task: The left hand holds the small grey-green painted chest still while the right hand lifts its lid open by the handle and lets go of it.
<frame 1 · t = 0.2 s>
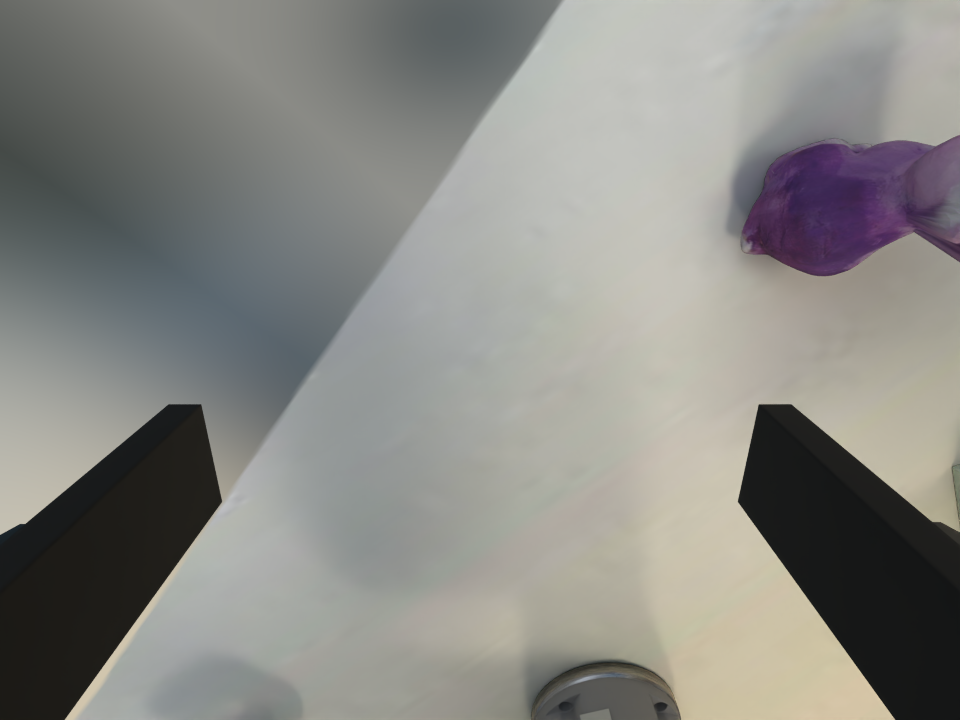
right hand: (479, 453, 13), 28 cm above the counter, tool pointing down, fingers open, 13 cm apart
figurine: (813, 192, 37), on the counter
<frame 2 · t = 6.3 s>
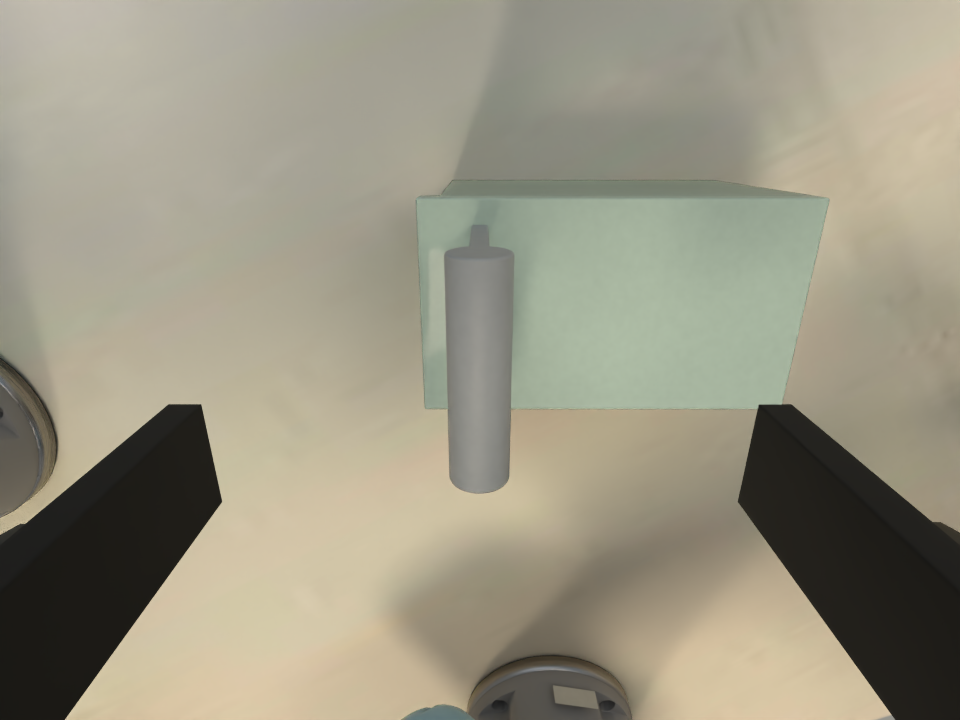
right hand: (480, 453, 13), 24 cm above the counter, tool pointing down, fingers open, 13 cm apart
lid: (632, 337, 21), point 15 cm above the counter, hinge at 0.0°
chest: (577, 258, 35), on the counter
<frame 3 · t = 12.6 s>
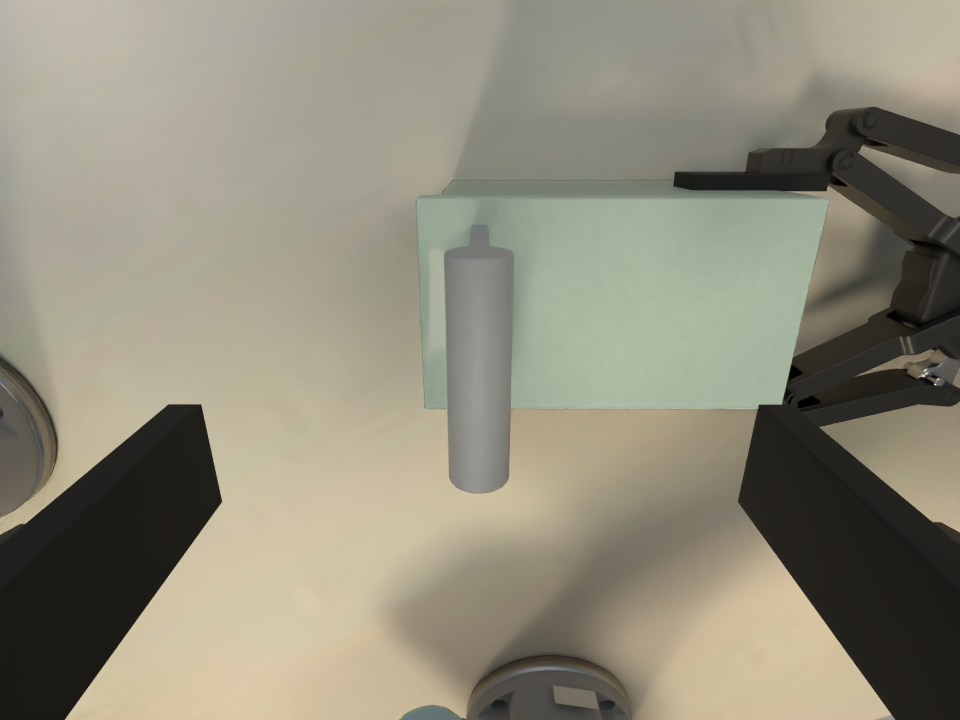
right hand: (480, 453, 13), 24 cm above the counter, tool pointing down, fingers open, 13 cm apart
left hand: (669, 282, 29), fingers closed on chest, 10 cm apart
lid: (632, 337, 21), point 15 cm above the counter, hinge at 0.0°
chest: (577, 258, 35), on the counter, touching left hand
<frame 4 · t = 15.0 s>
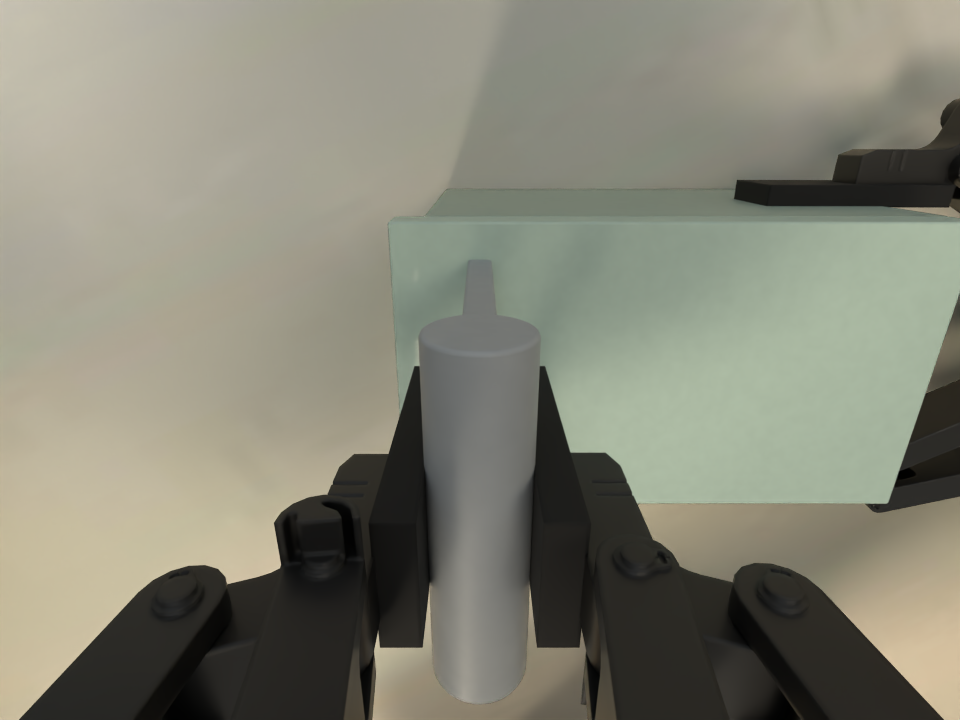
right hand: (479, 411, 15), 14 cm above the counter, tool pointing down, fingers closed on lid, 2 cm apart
lid: (706, 430, 14), point 15 cm above the counter, hinge at 0.3°, touching right hand
chest: (601, 285, 28), on the counter, touching left hand
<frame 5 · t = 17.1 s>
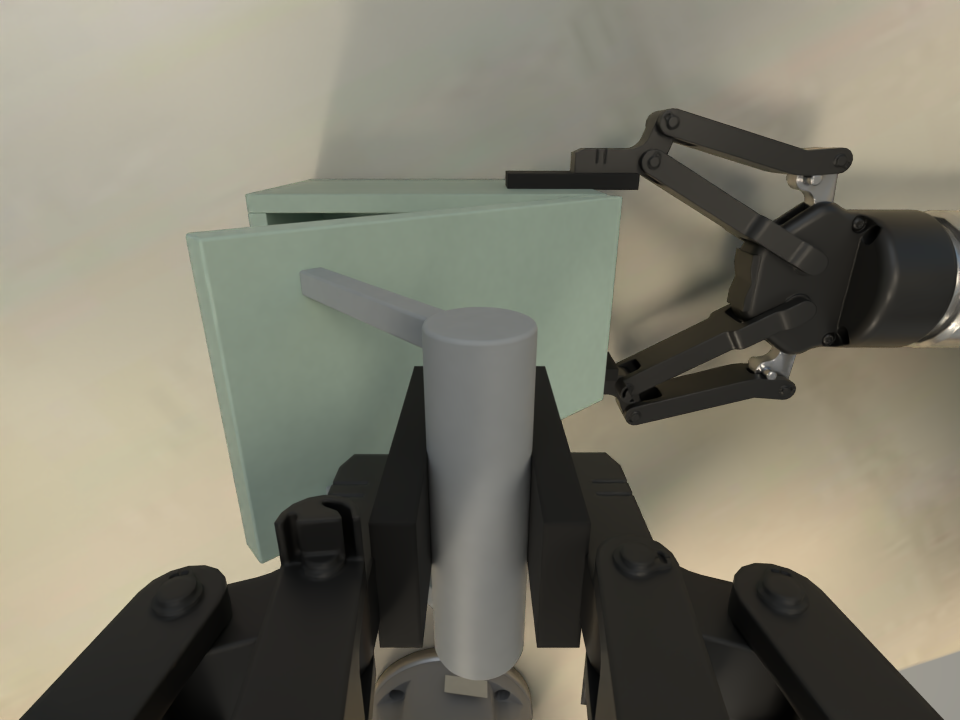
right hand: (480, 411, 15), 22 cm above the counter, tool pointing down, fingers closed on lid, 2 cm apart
left hand: (504, 278, 30), fingers closed on chest, 10 cm apart
lid: (543, 376, 17), point 20 cm above the counter, hinge at 40.2°, touching right hand
chest: (440, 256, 36), on the counter, touching left hand
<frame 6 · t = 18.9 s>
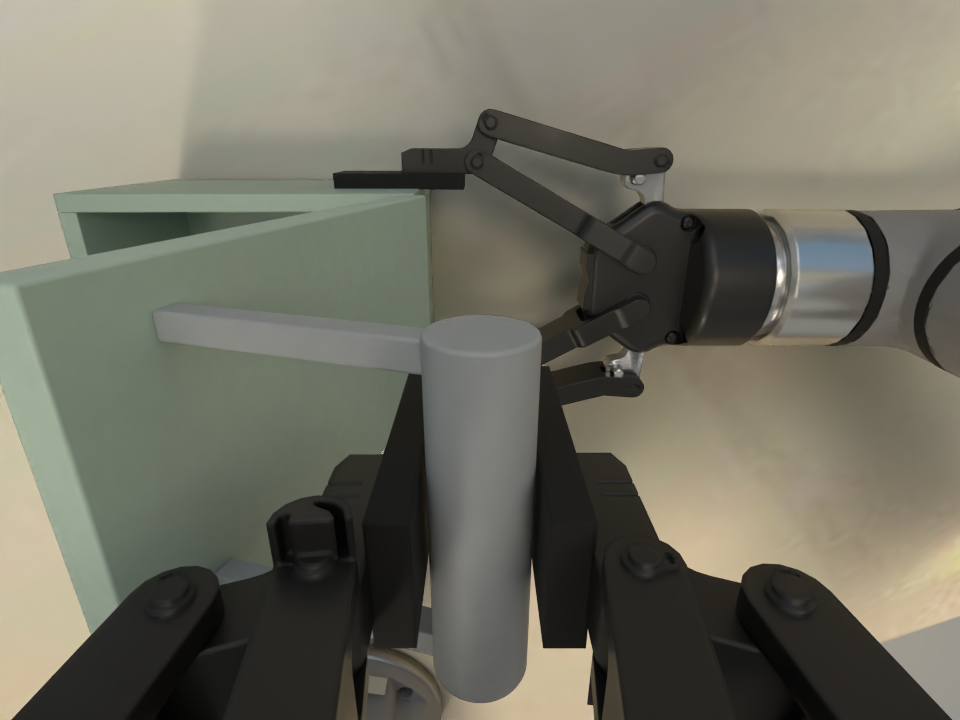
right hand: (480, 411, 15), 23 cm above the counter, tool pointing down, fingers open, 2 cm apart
left hand: (349, 277, 30), fingers closed on chest, 10 cm apart
lid: (427, 381, 17), point 21 cm above the counter, hinge at 71.4°
chest: (310, 256, 36), on the counter, touching left hand
when the left hand's fingers open (7 cm above the counter, at t = 23.1 s): chest stays where it is, on the counter.
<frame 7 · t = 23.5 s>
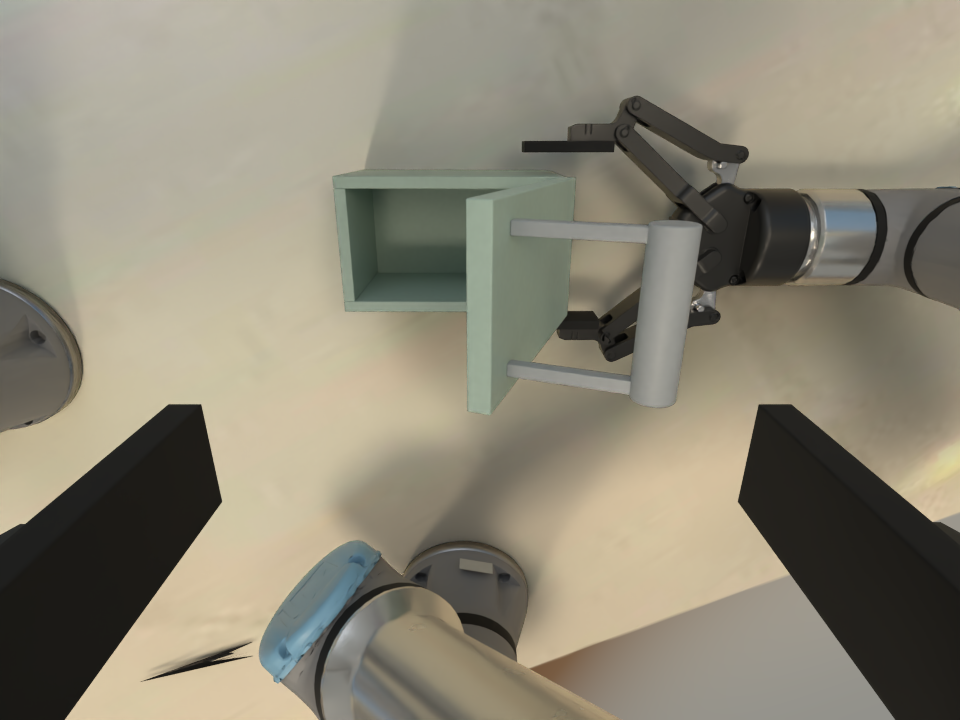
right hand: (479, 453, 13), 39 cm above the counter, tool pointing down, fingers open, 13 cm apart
left hand: (520, 238, 43), fingers open, 13 cm apart
lid: (601, 279, 30), point 21 cm above the counter, hinge at 69.5°
chest: (456, 226, 49), on the counter
feather: (165, 670, 70), on the counter
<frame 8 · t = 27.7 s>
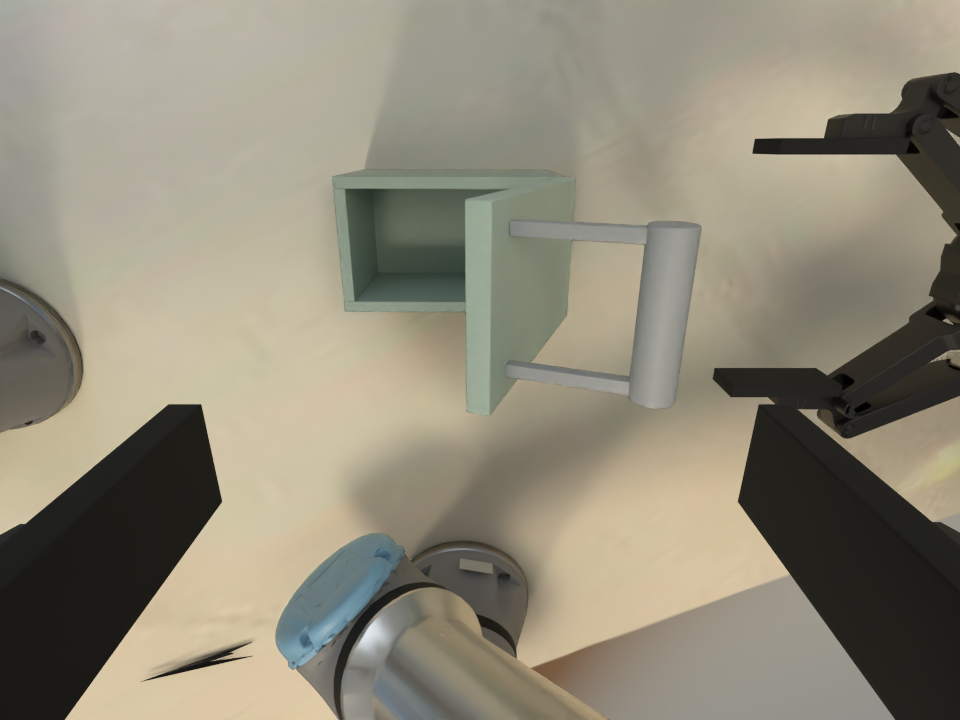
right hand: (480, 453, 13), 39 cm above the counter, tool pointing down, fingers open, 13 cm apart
left hand: (741, 273, 31), fingers open, 13 cm apart
lid: (600, 280, 30), point 21 cm above the counter, hinge at 69.4°
chest: (456, 226, 49), on the counter
feather: (165, 670, 70), on the counter
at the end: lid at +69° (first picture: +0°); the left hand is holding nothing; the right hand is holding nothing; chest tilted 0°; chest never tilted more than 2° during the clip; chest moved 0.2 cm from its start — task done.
